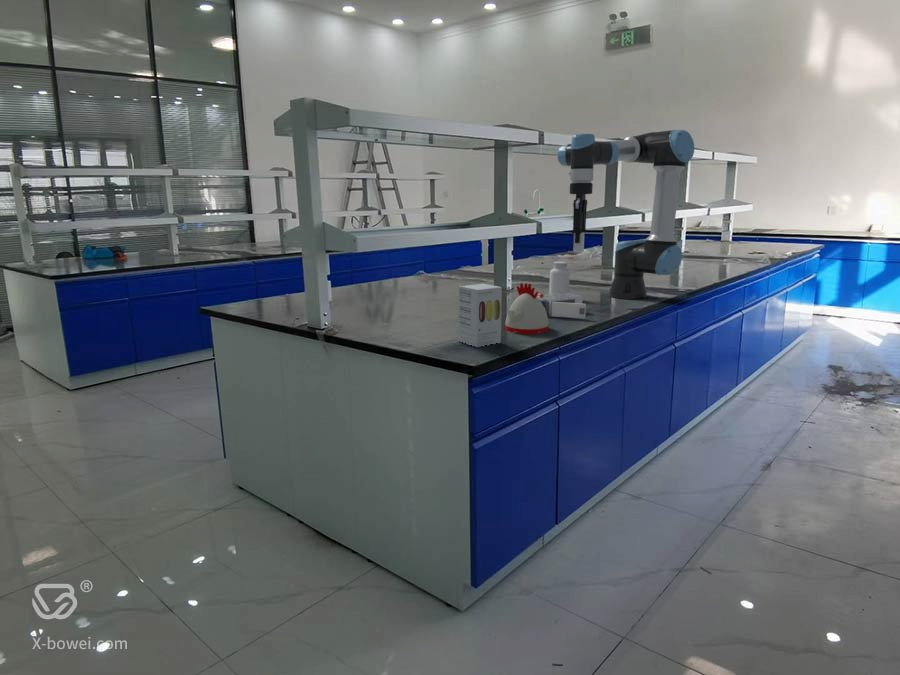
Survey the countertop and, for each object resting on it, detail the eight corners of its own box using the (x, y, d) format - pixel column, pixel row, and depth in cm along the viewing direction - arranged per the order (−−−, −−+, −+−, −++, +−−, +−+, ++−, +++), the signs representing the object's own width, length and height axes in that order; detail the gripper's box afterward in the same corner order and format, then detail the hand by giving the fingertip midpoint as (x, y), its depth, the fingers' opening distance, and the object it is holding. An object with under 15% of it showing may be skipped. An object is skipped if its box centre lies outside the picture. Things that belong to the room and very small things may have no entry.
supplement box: (476, 348, 173) (476, 289, 169) (457, 341, 180) (456, 285, 176) (502, 343, 179) (502, 286, 174) (482, 337, 186) (482, 282, 182)
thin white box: (585, 318, 209) (585, 303, 208) (584, 319, 208) (585, 303, 207) (549, 316, 214) (549, 301, 213) (548, 316, 212) (548, 301, 211)
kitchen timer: (524, 322, 205) (525, 278, 201) (557, 329, 195) (558, 283, 192) (496, 329, 196) (496, 283, 192) (529, 336, 186) (530, 288, 182)
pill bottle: (568, 300, 243) (570, 263, 240) (548, 300, 245) (549, 263, 241) (569, 297, 251) (570, 261, 247) (549, 296, 252) (550, 260, 249)
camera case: (564, 307, 229) (565, 290, 228) (582, 312, 221) (582, 294, 219) (523, 312, 221) (524, 294, 219) (540, 317, 212) (541, 298, 211)
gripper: (574, 182, 213) (572, 249, 218) (565, 182, 198) (562, 254, 203) (596, 182, 210) (593, 249, 216) (588, 181, 195) (585, 254, 201)
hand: (578, 251), depth 209 cm, fingers open, 4 cm apart
